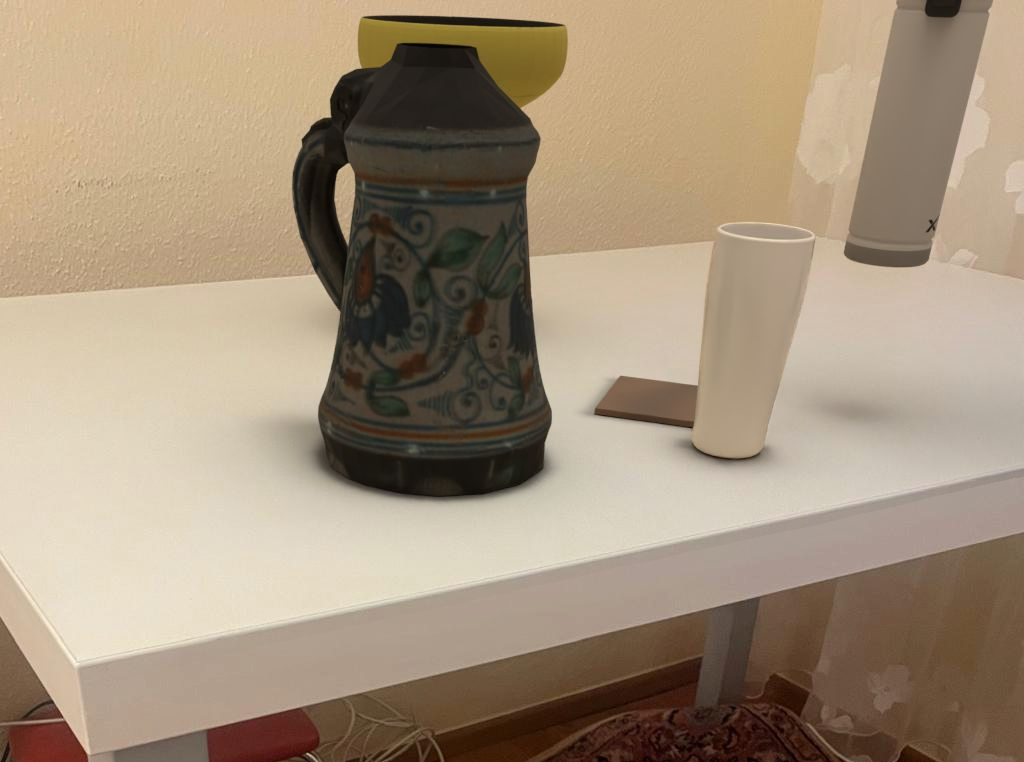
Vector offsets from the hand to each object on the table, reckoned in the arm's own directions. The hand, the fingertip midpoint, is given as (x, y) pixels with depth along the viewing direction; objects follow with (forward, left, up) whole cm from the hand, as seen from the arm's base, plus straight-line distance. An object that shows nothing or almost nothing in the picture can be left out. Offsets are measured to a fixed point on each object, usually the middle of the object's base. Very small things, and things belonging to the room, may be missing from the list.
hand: (939, 15), depth 83 cm
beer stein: (+29, +25, -27) cm, 47 cm away
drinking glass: (+8, +14, -27) cm, 32 cm away
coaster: (+14, +5, -27) cm, 31 cm away
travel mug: (0, 0, -16) cm, 16 cm away
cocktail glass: (+38, -11, -27) cm, 48 cm away
